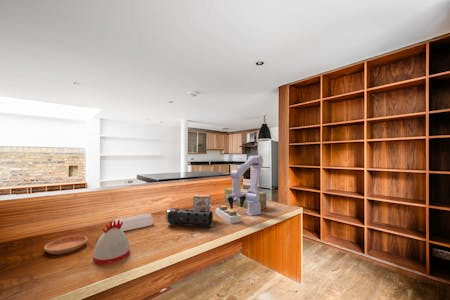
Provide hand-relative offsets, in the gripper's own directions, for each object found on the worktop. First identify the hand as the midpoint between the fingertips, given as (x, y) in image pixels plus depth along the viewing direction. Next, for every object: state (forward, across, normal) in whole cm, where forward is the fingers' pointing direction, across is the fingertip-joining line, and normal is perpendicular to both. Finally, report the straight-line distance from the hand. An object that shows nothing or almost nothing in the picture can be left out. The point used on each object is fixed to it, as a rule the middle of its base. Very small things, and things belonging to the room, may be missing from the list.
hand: (236, 207), depth 134 cm
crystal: (+9, -64, +14) cm, 66 cm away
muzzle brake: (+9, -32, +2) cm, 34 cm away
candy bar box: (+8, -21, +10) cm, 25 cm away
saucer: (+9, -92, -1) cm, 93 cm away
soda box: (+8, +26, +33) cm, 43 cm away
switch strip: (+8, -3, +7) cm, 11 cm away
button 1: (+5, -3, +14) cm, 15 cm away
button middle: (+6, -3, +7) cm, 10 cm away
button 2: (+5, -3, 0) cm, 6 cm away
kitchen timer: (+9, -72, -18) cm, 75 cm away
